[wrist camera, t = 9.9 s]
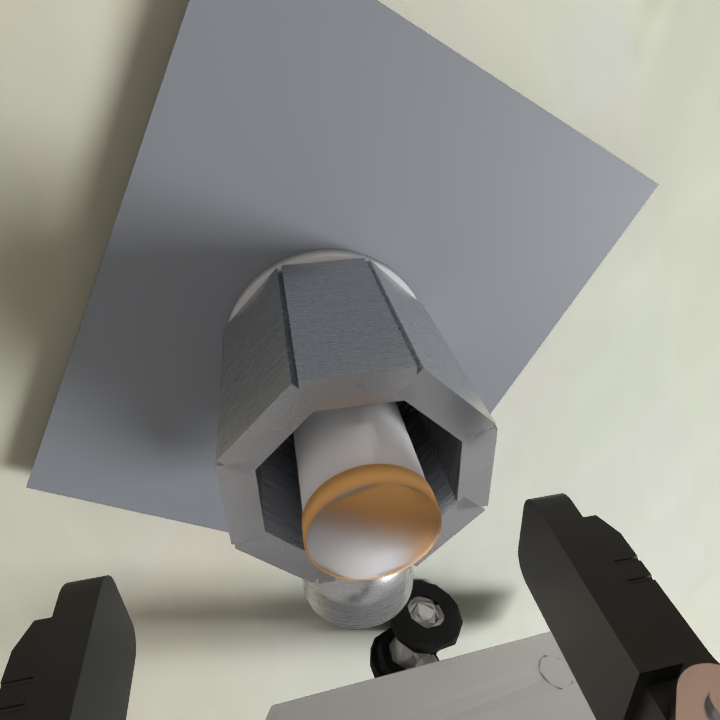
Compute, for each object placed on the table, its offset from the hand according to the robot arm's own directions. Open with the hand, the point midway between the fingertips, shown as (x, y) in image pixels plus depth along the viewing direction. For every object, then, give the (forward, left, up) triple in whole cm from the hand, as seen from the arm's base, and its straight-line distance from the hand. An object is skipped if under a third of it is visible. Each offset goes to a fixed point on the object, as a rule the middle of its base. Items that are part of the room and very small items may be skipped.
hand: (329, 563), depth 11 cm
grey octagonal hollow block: (0, -1, -8) cm, 8 cm away
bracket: (-10, -19, -6) cm, 22 cm away
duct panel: (+1, -1, -10) cm, 10 cm away
